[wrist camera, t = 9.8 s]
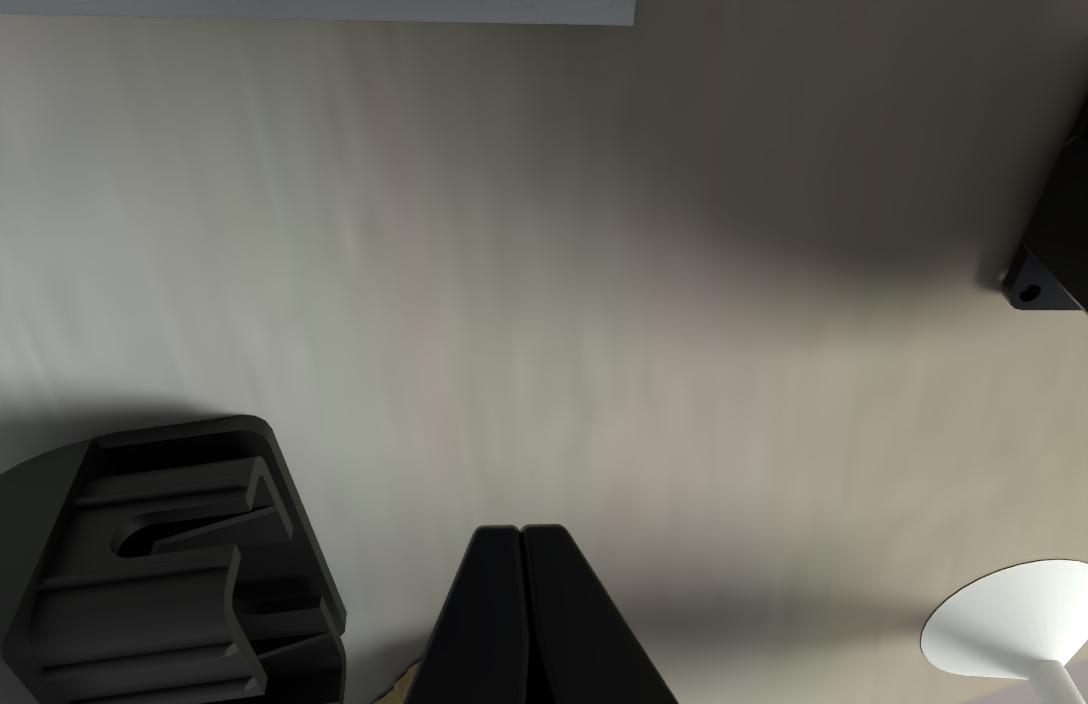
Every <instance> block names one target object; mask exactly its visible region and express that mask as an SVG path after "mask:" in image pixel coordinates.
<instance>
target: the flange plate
mask: <svg viewBox="0 0 1088 704" xmlns="http://www.w3.org/2000/svg"><path fill="white" fill-rule="evenodd" d="M635 3H636V0H0V14H32V15H86V16H140V17H195V18H249V19H303V20H358V21H412V22H466V23H521V24H575V25H629V26H633V22H634V13H635Z"/></svg>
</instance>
